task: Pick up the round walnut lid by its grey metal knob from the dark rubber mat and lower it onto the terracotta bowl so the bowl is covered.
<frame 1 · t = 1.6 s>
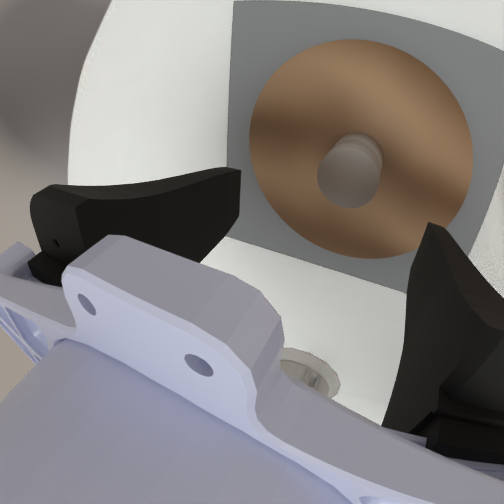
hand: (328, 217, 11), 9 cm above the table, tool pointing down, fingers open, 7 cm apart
mat: (360, 152, 18), on the table
french press: (302, 373, 33), on the table
lid: (359, 153, 18), resting on mat
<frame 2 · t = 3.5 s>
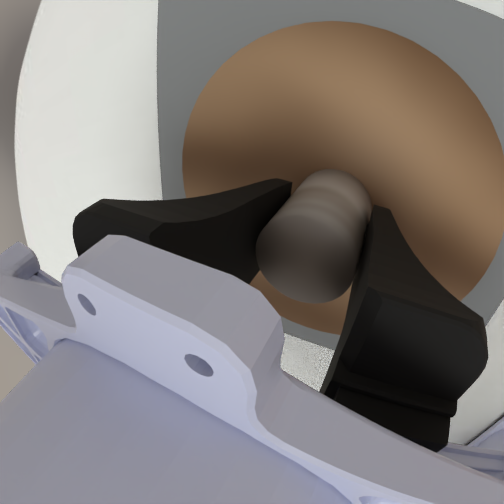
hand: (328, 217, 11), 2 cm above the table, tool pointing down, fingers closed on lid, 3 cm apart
mat: (339, 194, 13), on the table
lid: (337, 198, 13), resting on mat, touching gripper
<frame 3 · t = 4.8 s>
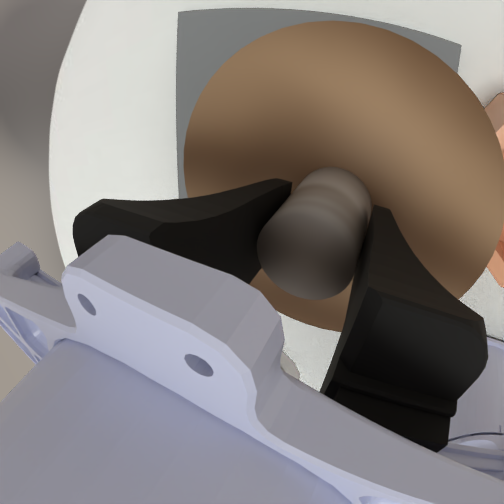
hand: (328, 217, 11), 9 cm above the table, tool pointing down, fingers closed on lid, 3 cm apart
mat: (293, 146, 20), on the table
lid: (337, 195, 13), point 7 cm above the table, touching gripper
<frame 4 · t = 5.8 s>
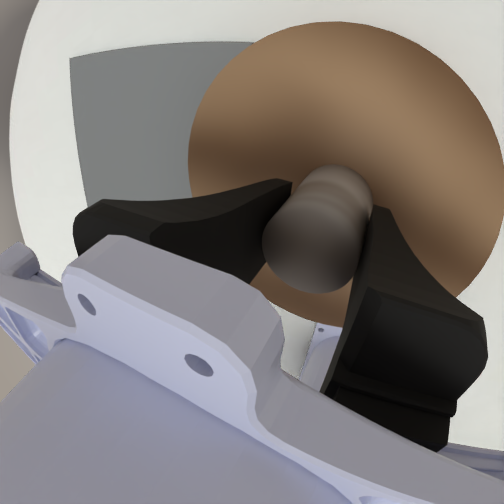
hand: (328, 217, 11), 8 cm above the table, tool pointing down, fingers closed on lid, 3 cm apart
mat: (145, 156, 24), on the table
lid: (340, 192, 13), point 6 cm above the table, touching gripper
when the fingers open (8 cm above the table, at t = 6.5 s): lid drops 1 cm, resting on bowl.
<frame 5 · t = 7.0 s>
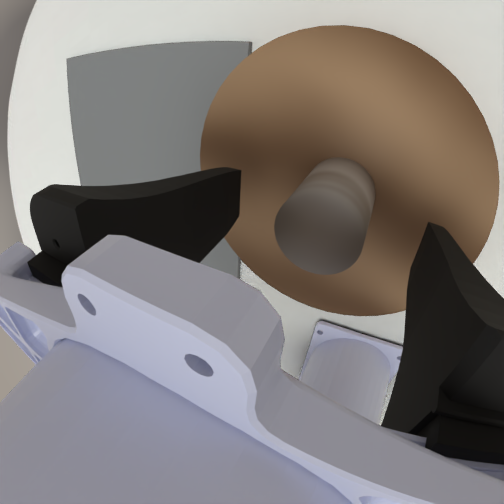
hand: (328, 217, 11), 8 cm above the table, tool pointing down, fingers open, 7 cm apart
mat: (142, 157, 24), on the table
lid: (344, 184, 14), point 4 cm above the table, touching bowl
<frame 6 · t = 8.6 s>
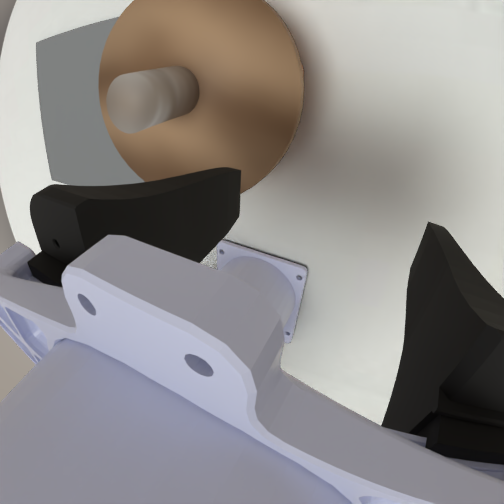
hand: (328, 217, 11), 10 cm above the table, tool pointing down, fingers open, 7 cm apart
mat: (85, 111, 27), on the table
lid: (185, 89, 17), point 4 cm above the table, touching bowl
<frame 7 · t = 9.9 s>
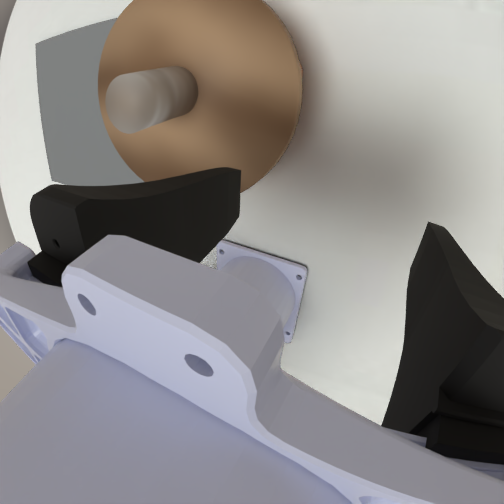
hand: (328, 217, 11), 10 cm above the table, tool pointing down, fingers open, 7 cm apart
mat: (84, 112, 27), on the table
lid: (184, 89, 17), point 4 cm above the table, touching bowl
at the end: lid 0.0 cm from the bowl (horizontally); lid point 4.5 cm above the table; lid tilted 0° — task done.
